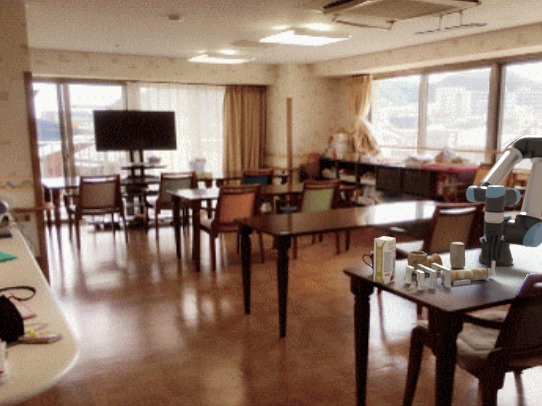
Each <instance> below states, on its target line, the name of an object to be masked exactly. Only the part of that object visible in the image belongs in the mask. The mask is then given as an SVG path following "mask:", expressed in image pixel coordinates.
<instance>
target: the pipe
mask: <svg viewBox="0 0 542 406" xmlns="http://www.w3.org/2000/svg"><path fill="white" fill-rule="evenodd" d="M408 253H409V254H408V256H407V258H406V259H407V265H409V266H412V267H414V268H415V270H417V265H418V264H421V265H423V266H426V267H428V268H430V269H431V266H432V263H436V264H439V265H441V266H443V265H444V264H443V260H442V259H443V258H442V257H441V256H440V254H438V253H436V252H435V253H432V255H431V256H430V257H428V253H426V252H425V251H422V250H411V251H409V252H408ZM443 267H444V266H443ZM415 270H414V271H412V273H411V274H415ZM423 272H425V271H423ZM437 272H442V271H441V270H439V269H437ZM425 273H426V272H425ZM415 275H416V274H415Z"/></svg>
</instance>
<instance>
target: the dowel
mask: <svg viewBox="0 0 542 406" xmlns="http://www.w3.org/2000/svg"><path fill="white" fill-rule="evenodd" d="M488 278H489V275H488V268H487V267H486V268H485V267H478V268H476V267H475V268H467V269H466V268H465V269H457V270H451V284H452V281H455V280H464V279H470V280H471V282H472V281H473V282H475V281H482V280H487V279H488ZM440 280H441V283H443V284H444V283H445V272H443V271H441V273H440Z"/></svg>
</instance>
